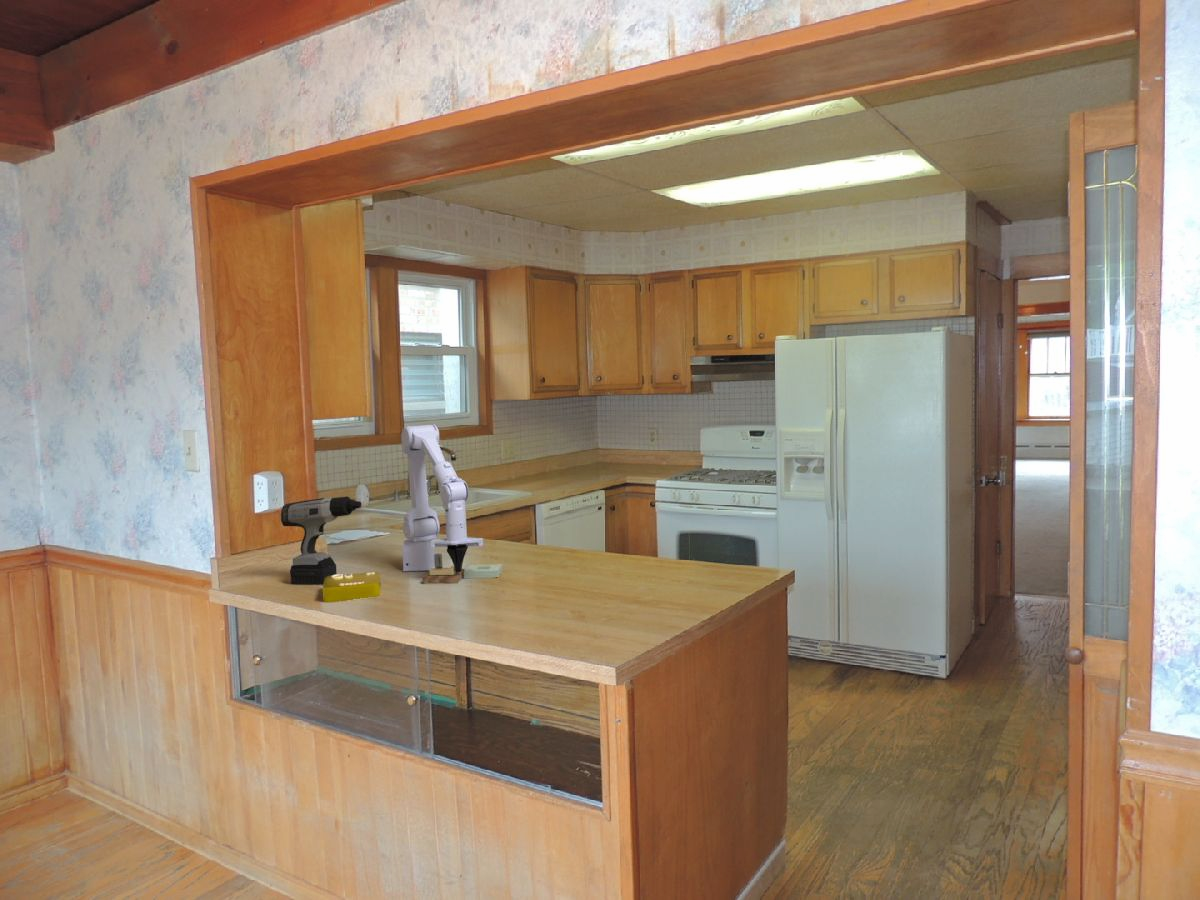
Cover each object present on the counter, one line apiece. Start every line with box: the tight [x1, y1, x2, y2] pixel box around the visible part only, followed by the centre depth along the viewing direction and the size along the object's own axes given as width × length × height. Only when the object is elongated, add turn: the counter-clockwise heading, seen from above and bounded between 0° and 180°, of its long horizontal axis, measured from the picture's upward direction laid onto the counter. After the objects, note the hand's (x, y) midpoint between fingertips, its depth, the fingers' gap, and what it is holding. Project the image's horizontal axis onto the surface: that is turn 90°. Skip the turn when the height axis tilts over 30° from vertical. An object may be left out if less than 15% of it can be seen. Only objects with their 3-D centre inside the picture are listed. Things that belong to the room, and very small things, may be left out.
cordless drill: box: [280, 496, 362, 585], centre depth 249 cm, size 8×24×25 cm, turn 78°
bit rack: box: [463, 563, 504, 579], centre depth 251 cm, size 10×8×2 cm
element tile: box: [322, 571, 382, 604], centre depth 235 cm, size 15×15×5 cm
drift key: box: [429, 565, 456, 575], centre depth 243 cm, size 7×2×2 cm, turn 86°
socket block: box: [422, 568, 466, 584], centre depth 247 cm, size 10×9×2 cm
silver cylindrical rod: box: [434, 553, 444, 568], centre depth 249 cm, size 2×2×7 cm
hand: (458, 571), depth 243 cm, fingers closed
